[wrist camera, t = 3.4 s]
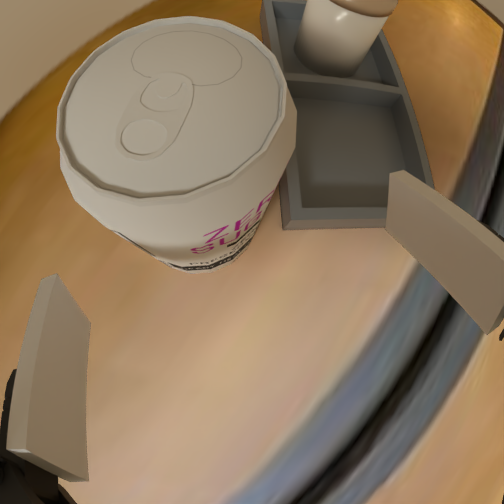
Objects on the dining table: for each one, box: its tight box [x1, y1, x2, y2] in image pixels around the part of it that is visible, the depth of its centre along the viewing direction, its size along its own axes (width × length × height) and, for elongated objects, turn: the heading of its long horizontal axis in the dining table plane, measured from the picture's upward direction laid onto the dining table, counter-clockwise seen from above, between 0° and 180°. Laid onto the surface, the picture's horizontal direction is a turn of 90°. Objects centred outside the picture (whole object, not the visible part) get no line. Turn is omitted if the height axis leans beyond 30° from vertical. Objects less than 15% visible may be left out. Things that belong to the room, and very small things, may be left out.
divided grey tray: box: [260, 0, 435, 230], centre depth 24 cm, size 12×23×3 cm, turn 3°
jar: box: [294, 0, 398, 78], centre depth 21 cm, size 7×7×9 cm
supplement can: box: [56, 16, 297, 274], centre depth 15 cm, size 8×8×15 cm
